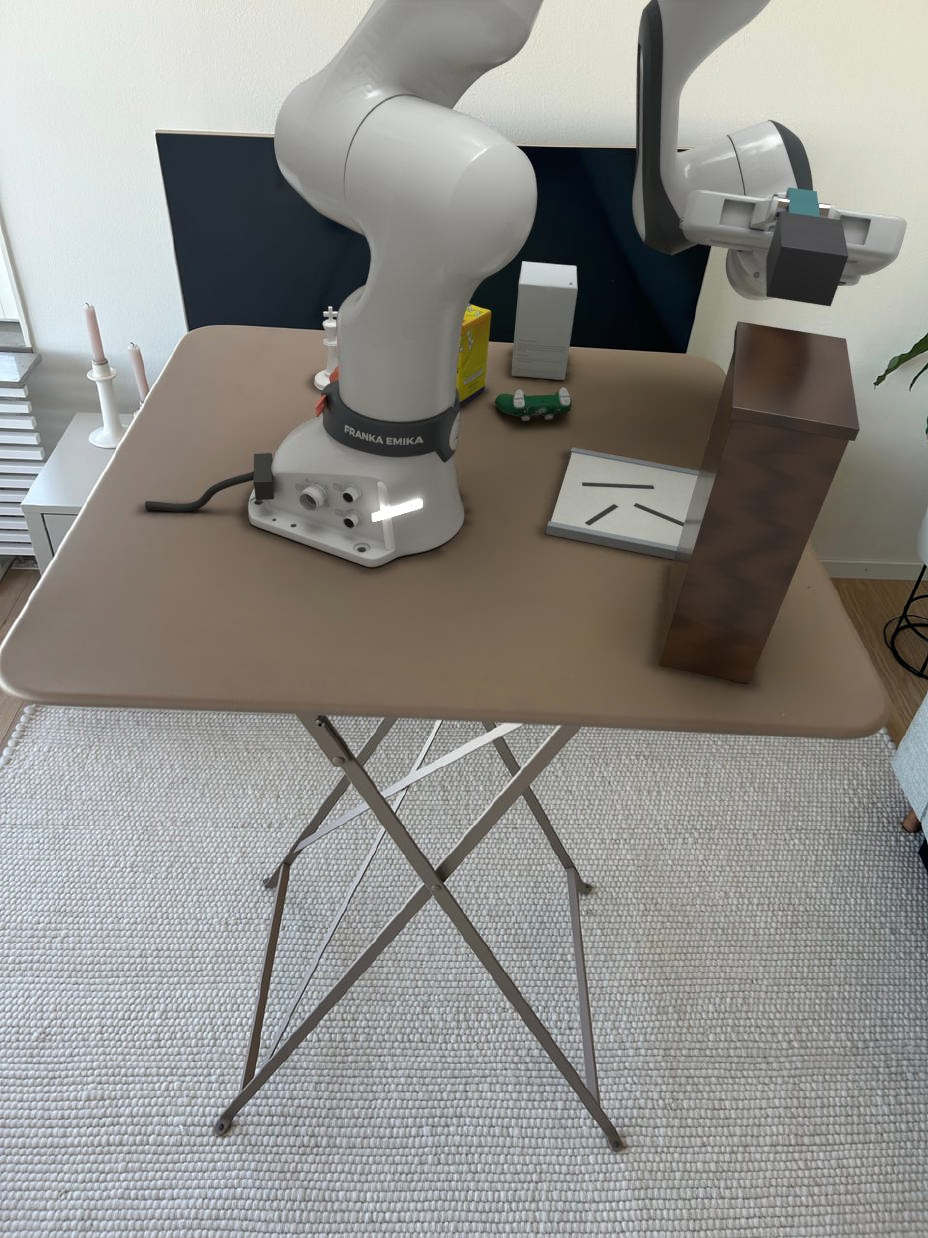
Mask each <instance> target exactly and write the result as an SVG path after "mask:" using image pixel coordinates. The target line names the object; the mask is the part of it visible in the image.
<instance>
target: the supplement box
mask: <svg viewBox="0 0 928 1238" xmlns="http://www.w3.org/2000/svg"><path fill="white" fill-rule="evenodd" d="M491 319H492V311H491V310H490V309H487V308H483V307H480V306H477V305H474V304H472V303H469V304H468V306H467V309H466V312H465V315H464V319H463V323H462V328H461V335H460V345H459V356H458V368H457V381H456V388H457V389H458V391H459V395H460V408H461V407H463V406H464V405H465V404H467V403H468V402H470V401H471V400H473V399H474V398H476V397H477V396H479V395H480V394H482V393H483V392H484V391H485V386H486V376H487V375H486V374H487V363H488V354H489V353H488V352H489V341H490V331H491V321H492V320H491Z"/></svg>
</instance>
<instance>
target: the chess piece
mask: <svg viewBox="0 0 928 1238" xmlns="http://www.w3.org/2000/svg"><path fill="white" fill-rule="evenodd" d="M327 308H328V311H323V312H322V313H323V314H322V315H323V317H324V318H325V317H327V318H328V319H325V320H323V321H322V326H323V329H324V331H325V335H326V337H325V338H324V339H323V341H322V343H323V345H324V346H326V347H327V360H326V362H327V363H326V368H325V369H323V370H321V371H319V372H318V373H316V375H315V376H314V383H313V384H314V386H315V387H316V389H318V390H319V391H322V390H323V389H324V388H325V386H326V385H328V384H329V383H330V381H329V377H330V374H331V373H332V372H334V370H335V368H336V367H337V366H338V353H337V330H336V319H334V318H337V314H338V311H333V306H328V307H327Z"/></svg>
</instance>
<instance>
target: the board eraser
mask: <svg viewBox="0 0 928 1238" xmlns="http://www.w3.org/2000/svg"><path fill="white" fill-rule="evenodd" d="M785 198H789V199H790V202H789V205H788V207H787V208H786V209H787V212H780V214H779V217H778V221H777V224H776V228H775V231H774V234H773V238H772V241H771V245H770V248H769V252H768V255H767V258H766V296H767V297H772V298H773V299H777V300H786V301H792V302H799V303H803V304H804V303H806V304H811V305H818V306H825V307H831V306H832V304H833V301H834V298H835V296H836V293H837V290H838V287H839V286H838V285H839V282H840V279H841V276H842V273H843V270H844V268H845V265H846V262H847V259H848V251H847V245H846V240H845V234H844V229H843V223H842V220H837V219H830V218H823V217H820V212H819V206H818V203H819V198H818V191H816V190H813V191H811V190H804V189H796V188H788V190H787V193H786V196H785Z"/></svg>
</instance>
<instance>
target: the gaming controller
mask: <svg viewBox="0 0 928 1238" xmlns="http://www.w3.org/2000/svg"><path fill="white" fill-rule="evenodd" d="M494 404H495V406H496V407H497V408H498V410H499V411H501V413H504V414H506V415H510V416H513V417H519V418H520V419H521V421H523V422H526V421H530V420H531V417H532V415H539V414H541V416H542V417H544V419H545V420H546V421H547V420H553V418H554V416H555V414H564V413H569V412H570V411H571V408H572V407H573V401H572V398H571V395H570V394H569V392H568V390H567V388H566V387H561V388H560V389H559V390H558V391H556V392H555V394H538V395H536V394H535V395H526V394H524V391H523V390H522V389H517V390H516V391H515V393H514V394H511V393H500V394H498V395H497V396H496V397H495V400H494Z"/></svg>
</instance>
